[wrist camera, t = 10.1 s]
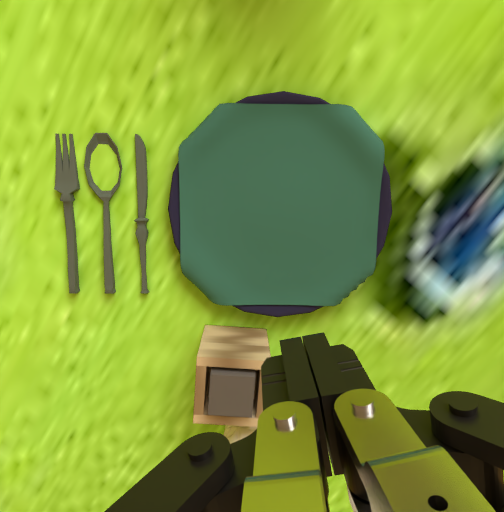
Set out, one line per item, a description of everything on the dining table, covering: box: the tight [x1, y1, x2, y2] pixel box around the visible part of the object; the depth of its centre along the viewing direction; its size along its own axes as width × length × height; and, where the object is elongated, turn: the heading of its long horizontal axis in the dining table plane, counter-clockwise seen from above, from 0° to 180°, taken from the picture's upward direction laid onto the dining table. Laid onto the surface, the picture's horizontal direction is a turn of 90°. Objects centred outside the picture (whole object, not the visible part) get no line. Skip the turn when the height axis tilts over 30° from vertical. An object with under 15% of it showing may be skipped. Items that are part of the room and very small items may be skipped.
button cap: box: [208, 367, 255, 418], centre depth 32 cm, size 4×4×2 cm
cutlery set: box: [54, 91, 392, 317], centre depth 35 cm, size 20×30×2 cm, turn 89°
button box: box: [193, 325, 271, 427], centre depth 35 cm, size 6×6×7 cm
